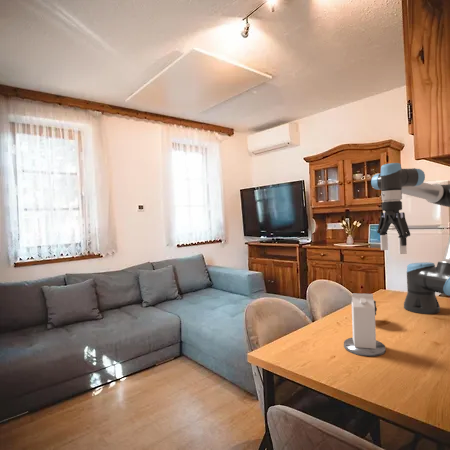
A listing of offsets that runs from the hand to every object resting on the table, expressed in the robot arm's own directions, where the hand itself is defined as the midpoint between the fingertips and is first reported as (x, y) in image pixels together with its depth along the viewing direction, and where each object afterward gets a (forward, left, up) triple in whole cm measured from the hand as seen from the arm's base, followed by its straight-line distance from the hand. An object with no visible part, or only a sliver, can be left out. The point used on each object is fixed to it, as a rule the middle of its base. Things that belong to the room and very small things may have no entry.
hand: (393, 251), depth 131 cm
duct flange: (+21, +16, -33) cm, 42 cm away
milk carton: (+21, +16, -32) cm, 41 cm away
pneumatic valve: (+8, -9, -33) cm, 35 cm away
